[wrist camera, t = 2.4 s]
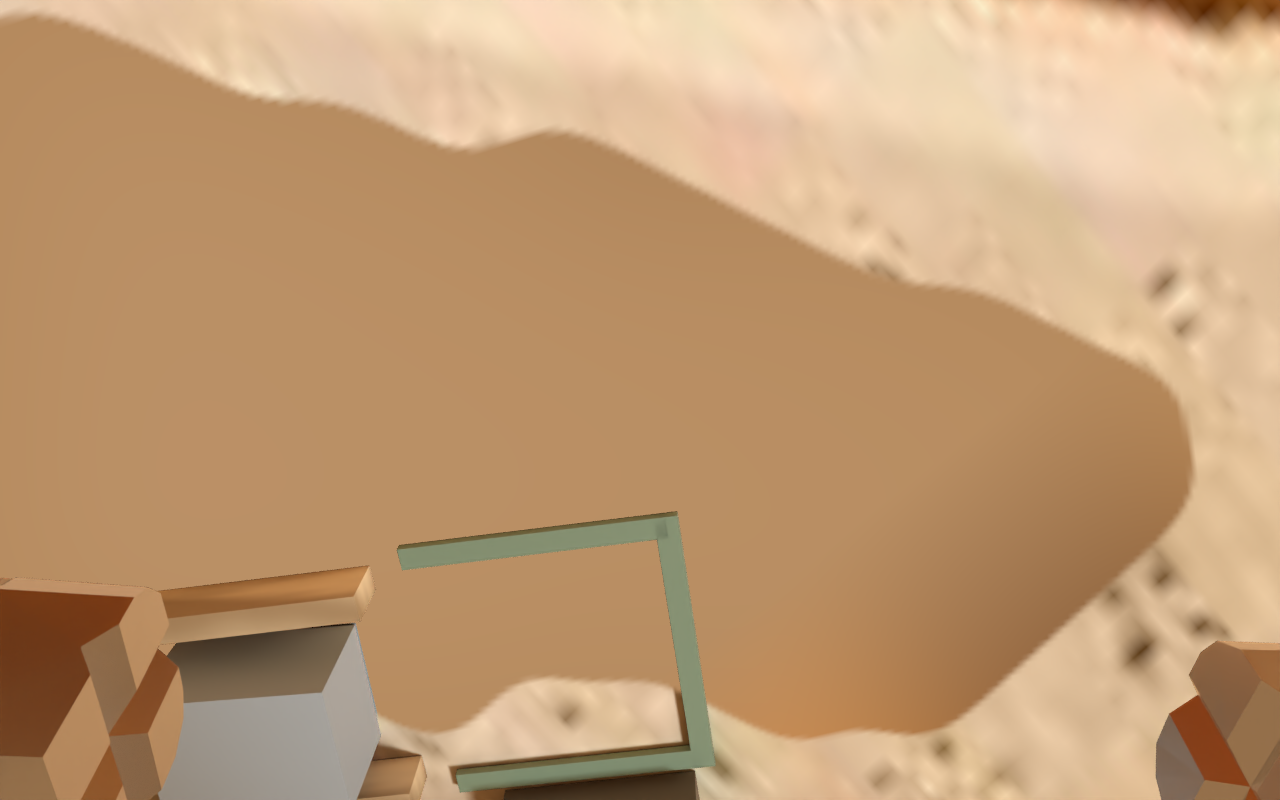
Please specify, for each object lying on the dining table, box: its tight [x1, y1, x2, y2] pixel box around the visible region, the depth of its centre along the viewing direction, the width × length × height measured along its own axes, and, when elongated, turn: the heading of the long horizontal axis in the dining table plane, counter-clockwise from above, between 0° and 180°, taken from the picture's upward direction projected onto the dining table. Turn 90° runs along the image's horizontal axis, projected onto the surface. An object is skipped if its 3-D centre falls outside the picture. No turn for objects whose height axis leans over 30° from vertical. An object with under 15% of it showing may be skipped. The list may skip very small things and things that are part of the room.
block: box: [158, 623, 381, 800], centre depth 46 cm, size 6×8×5 cm
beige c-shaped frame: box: [149, 566, 427, 800], centre depth 47 cm, size 11×15×2 cm
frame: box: [397, 511, 715, 792], centre depth 47 cm, size 13×12×1 cm
